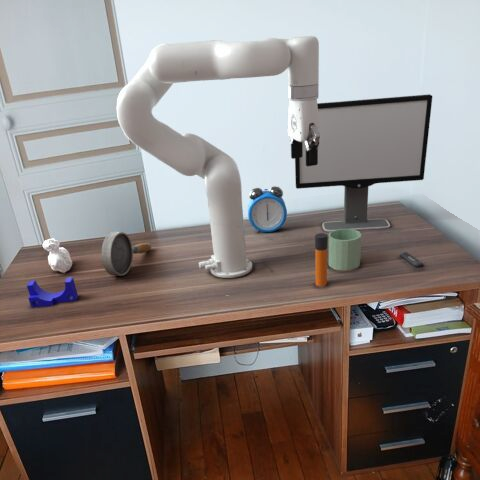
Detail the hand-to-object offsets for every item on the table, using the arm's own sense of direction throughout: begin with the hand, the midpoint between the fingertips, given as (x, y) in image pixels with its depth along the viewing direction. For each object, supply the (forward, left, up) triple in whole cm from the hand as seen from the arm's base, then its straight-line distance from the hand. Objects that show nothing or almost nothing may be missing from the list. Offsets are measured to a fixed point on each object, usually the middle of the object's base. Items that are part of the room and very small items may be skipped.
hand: (304, 161), depth 136 cm
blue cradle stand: (-72, +11, -30) cm, 79 cm away
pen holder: (+9, -8, -30) cm, 32 cm away
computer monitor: (+28, +18, -30) cm, 45 cm away
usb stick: (+26, -16, -30) cm, 42 cm away
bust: (-69, +34, -30) cm, 83 cm away
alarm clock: (+1, +30, -30) cm, 43 cm away
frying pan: (-48, +25, -30) cm, 62 cm away
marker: (-3, -16, -30) cm, 34 cm away
